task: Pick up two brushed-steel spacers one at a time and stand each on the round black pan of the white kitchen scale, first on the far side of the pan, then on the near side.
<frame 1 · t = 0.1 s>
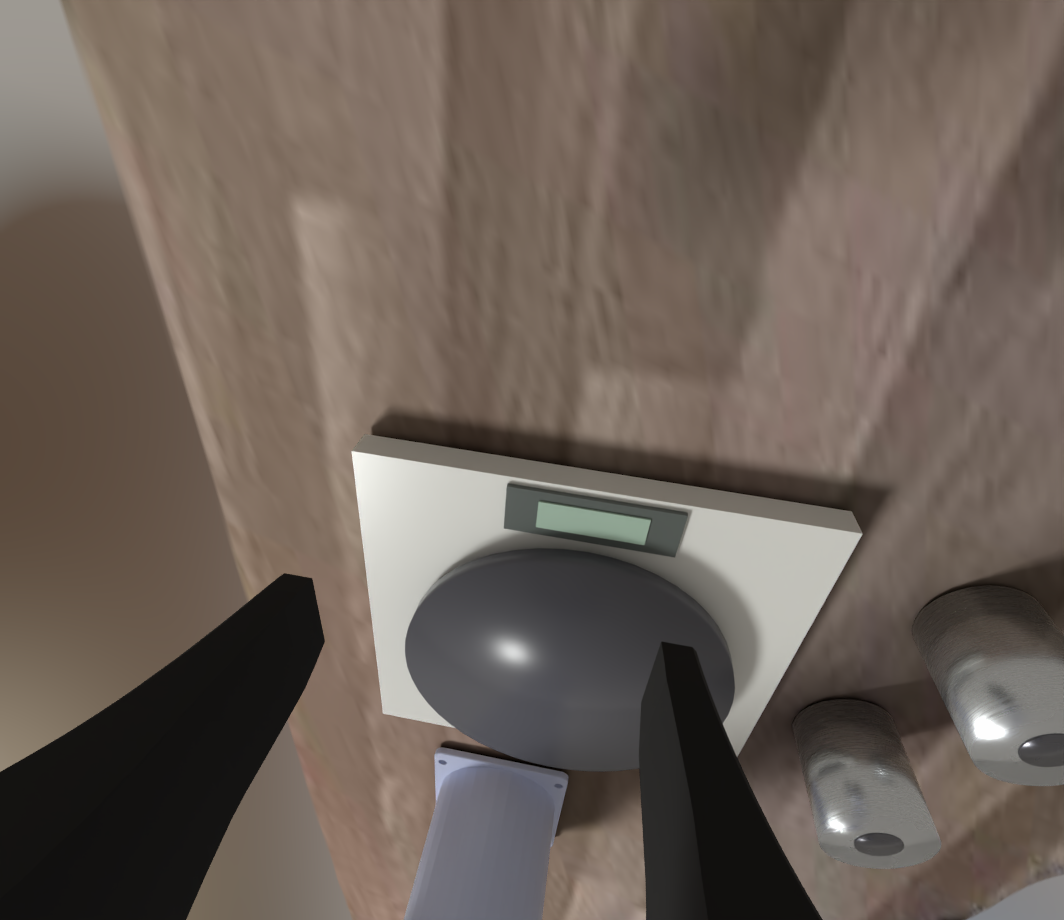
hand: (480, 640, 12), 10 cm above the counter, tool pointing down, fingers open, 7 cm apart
spacer b: (975, 625, 22), on the counter
scale base: (571, 622, 26), on the counter
scale pan: (563, 674, 25), point 2 cm above the counter, slide at -0.3 cm
spacer a: (842, 727, 27), on the counter
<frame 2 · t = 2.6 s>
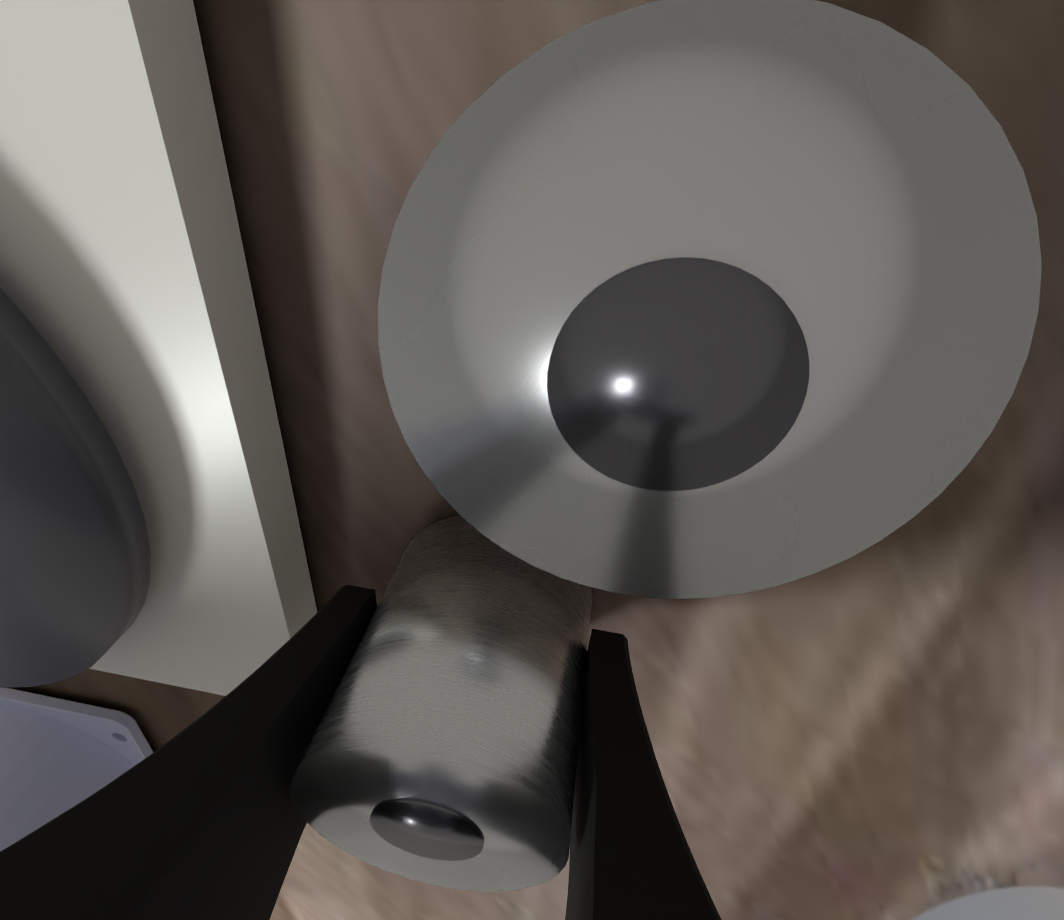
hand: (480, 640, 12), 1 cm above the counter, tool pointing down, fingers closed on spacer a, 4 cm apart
spacer b: (655, 230, 8), on the counter
spacer a: (494, 589, 13), on the counter, touching gripper
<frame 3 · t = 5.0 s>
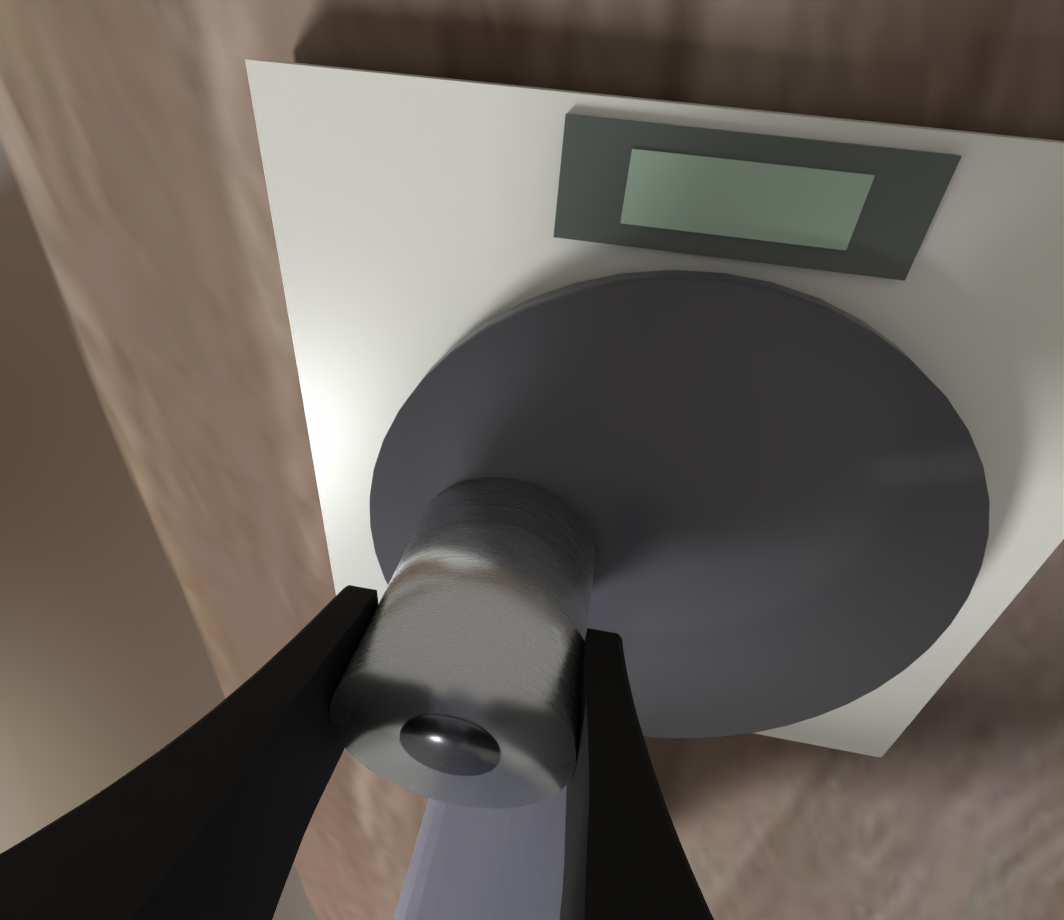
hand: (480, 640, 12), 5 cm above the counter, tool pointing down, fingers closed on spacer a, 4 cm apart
scale base: (654, 481, 15), on the counter
scale pan: (647, 561, 14), point 2 cm above the counter, slide at -0.4 cm, touching spacer a
spacer a: (505, 549, 14), point 2 cm above the counter, touching gripper, scale pan
when the fingers open (5 cm above the counter, at t = 11.5 s): spacer a stays where it is, resting on scale pan.
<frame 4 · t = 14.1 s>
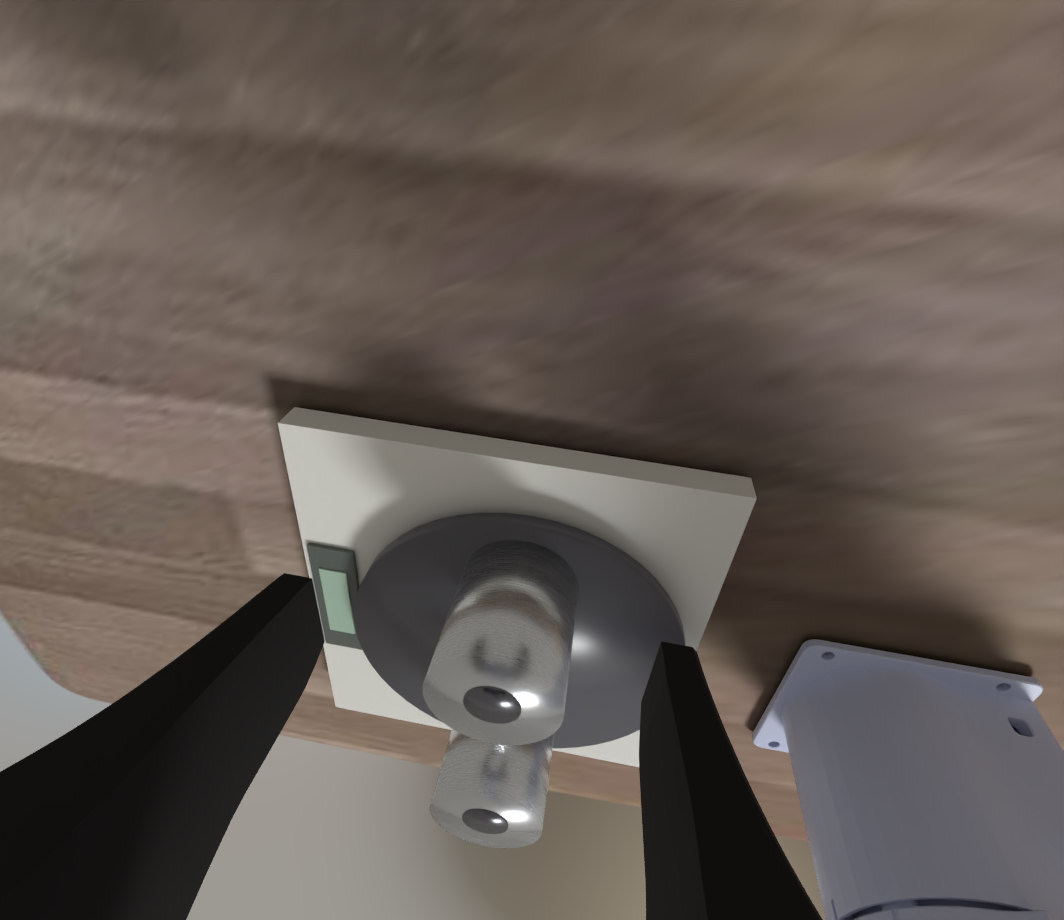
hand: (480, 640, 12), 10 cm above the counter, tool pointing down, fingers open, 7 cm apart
spacer b: (520, 584, 21), point 2 cm above the counter, touching scale pan
scale base: (502, 606, 26), on the counter
scale pan: (515, 646, 24), point 2 cm above the counter, slide at -0.4 cm, touching spacer a, spacer b
spacer a: (509, 702, 26), point 2 cm above the counter, touching scale pan
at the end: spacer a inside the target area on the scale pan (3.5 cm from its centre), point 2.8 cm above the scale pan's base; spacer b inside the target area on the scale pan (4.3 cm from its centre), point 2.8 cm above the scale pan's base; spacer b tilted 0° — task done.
